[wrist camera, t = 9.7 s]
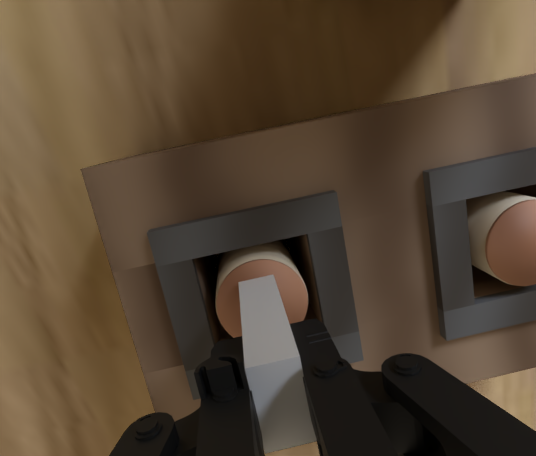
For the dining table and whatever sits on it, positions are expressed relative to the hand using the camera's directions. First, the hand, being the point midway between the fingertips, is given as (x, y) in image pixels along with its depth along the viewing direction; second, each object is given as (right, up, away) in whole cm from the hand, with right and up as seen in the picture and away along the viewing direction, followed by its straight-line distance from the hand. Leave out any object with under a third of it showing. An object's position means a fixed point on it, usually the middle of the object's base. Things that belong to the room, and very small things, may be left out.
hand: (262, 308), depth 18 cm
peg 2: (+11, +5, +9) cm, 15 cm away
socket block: (+5, +3, +9) cm, 11 cm away
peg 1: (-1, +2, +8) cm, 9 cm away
